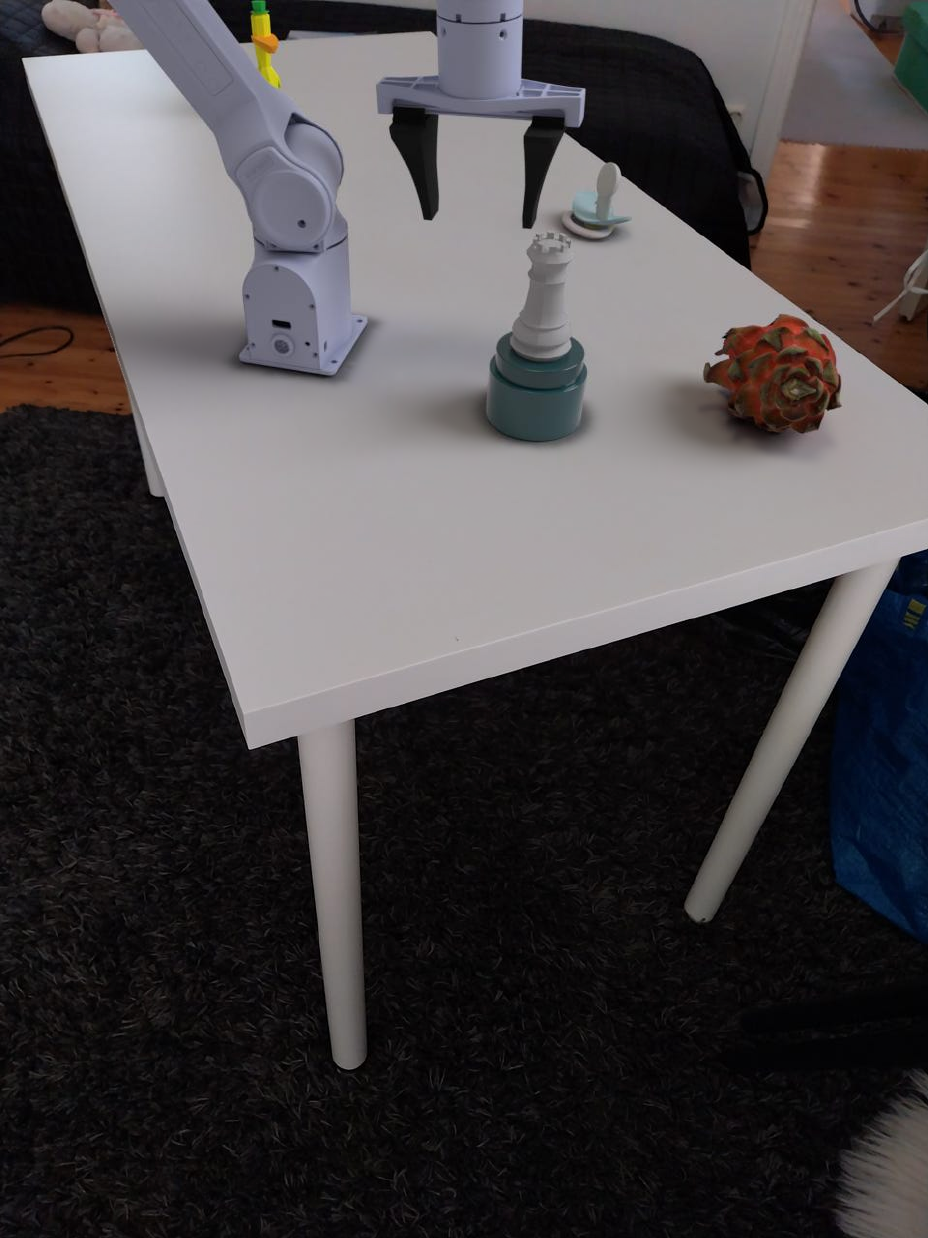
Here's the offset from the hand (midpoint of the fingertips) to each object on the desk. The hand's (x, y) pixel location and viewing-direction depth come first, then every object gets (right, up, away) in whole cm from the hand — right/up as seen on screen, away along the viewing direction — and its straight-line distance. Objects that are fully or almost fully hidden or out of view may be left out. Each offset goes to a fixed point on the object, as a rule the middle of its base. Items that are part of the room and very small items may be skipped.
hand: (479, 219), depth 73 cm
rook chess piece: (+4, -11, -4) cm, 12 cm away
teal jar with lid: (+4, -15, 0) cm, 15 cm away
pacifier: (+12, +9, +25) cm, 30 cm away
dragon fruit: (+22, -15, +2) cm, 26 cm away
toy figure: (-23, +32, +45) cm, 60 cm away
